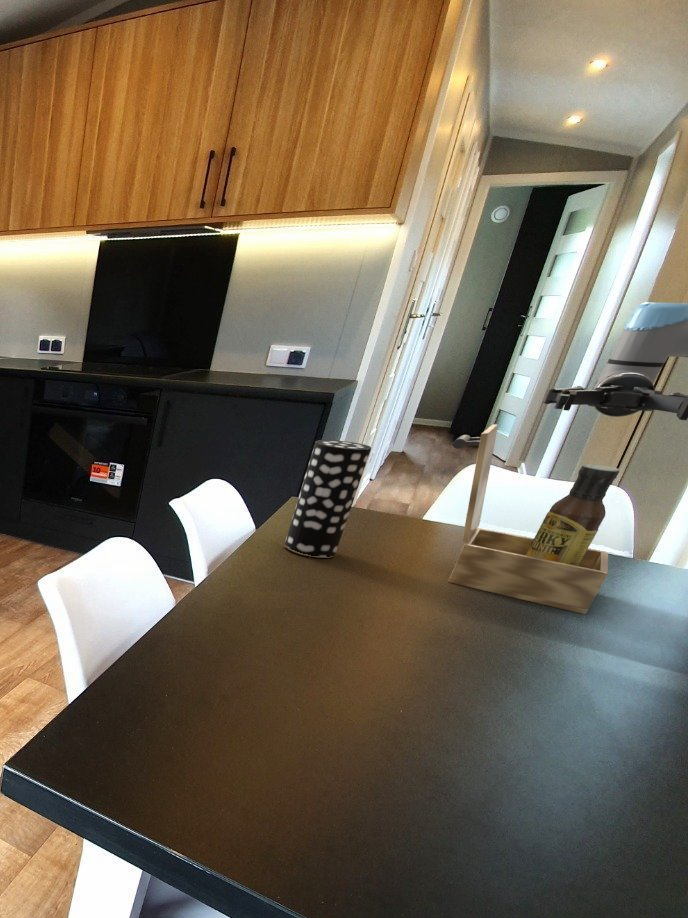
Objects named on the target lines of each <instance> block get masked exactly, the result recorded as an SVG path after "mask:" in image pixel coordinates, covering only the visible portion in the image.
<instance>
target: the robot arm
mask: <svg viewBox="0 0 688 918" xmlns="http://www.w3.org/2000/svg"><path fill="white" fill-rule="evenodd" d="M668 358H688V302H650V301H649V302H648V301H647V302H643V303H640V304H638V305H637V306H636V307H635V308H634V310H633V311H632V313H631V314H630V316H629V317H628V320H627V321H626V323H625V324H624V325H623V328H622V332H621V333H620V335H619V338H618V340H617V342H616V344H615V347H614V348H613V351H612V352H611V355H610V357H609V359H608V360H607V362H606V363H605V365H604V367H603V369H602V371H601V373H600V375H599V377H598V379H596V381H595V383H594V385H593V387H592V389H587V388H586V387H583V386H581V385H577V386H573V387H560V388H548V389H547V392H546V395H545V396H544V399H543V402H542V403H543V404H545V405H549V404H550V405H551V404H555V406H554V409H556V410H563V411H568V412H569V411H570V410H571V407H572V406H581V405H583V406H585V405H586V406H588V407H592V408H594V409H595V410H596V411H597V412H598V413H600V414H602V415H604V416H607V417H612V418H621V417H628V416H631V415H633V414H636V413H638V412H653V411H659V412H660V411H661V412H667V413H671V414H672V413H673V414H676V417H677V419H678V420H679V421H687V420H688V394H684V393H681V392H672V393H669V395H668V394H663V392H662V391H661V390H656V389H655V385H654V382H655V381H656V379H657V377H658V375H659V374H660V371H661V369H662V368H663V367H664V365H665V363H666V361H667V359H668Z"/></svg>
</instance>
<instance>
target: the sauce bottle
mask: <svg viewBox="0 0 688 918" xmlns="http://www.w3.org/2000/svg"><path fill="white" fill-rule="evenodd" d="M577 473H578V474H577V478H576V480H575V482H573V485H572V487H571V489H569V493H568V495H565V496H564V497H562V498H561V499H558V500H557V501H556V502H554V503H553V505H552V506H551V508H550V509H549V511H548V512H547V513H546V515H545V517H544V518H543V519H542V523H541V524H540V527H539V529H538V530H537V532H536V534H535V536H534V540H533V542H532V543H531V545H530V547H529V549H528V551H527V553H526V555H525V556H530V557H535V558H540V559H545V560H550V561H555V562H560V563H565V564H570V565H575V566H578V565H579V564H580V562H581V560H582V558H583V556H584V555H585V553H586V551H587V549H589V547H591V544H592V542H593V541H594V539H595V537H596V535H597V533H598V532H599V528H600V526H601V525H602V522H603V521H604V519H605V517H606V514H607V512H606V506H605V505H604V501H603V500H604V498H605V497H606V495H607V491H608V490H609V489H610V486H611V485H612V483H613V481H614V480H615V479H617V477H618V475H619V473H620V469H619V468H617V467H612V466H608V465H601V464H593V463H589V464H588V463H587V464H583V465H581V467H580V469H579V470H578V472H577Z"/></svg>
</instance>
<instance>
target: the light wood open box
mask: <svg viewBox="0 0 688 918" xmlns="http://www.w3.org/2000/svg"><path fill="white" fill-rule="evenodd" d="M534 538H535V537H534ZM534 538H533V537H529V536H523V535H518V534H512V533H507V532H502V531H496V530H490V529H486V528H482V527H481V528H480V527H478V528H477V529H476V531H475V532H474V534H473V535H472V537H471V538H470V540H469V541H468V542H465V543H463V546H462V548H461V551H460V553H459V555H458V557H457V560H456V562H455V565H454V567H453V569H452V572H451V574H450V576H449V578H448V580H447V582H448V583H451V584H454V585H458V586H462V587H468V588H472V589H476V590H480V591H485V592H487V593H488V592H489V593H492V594H498V595H501V596H506V597H510V598H515V599H519V600H523V601H526V602H531V603H535V604H540V605H544V606H548V607H552V608H557V609H560V610H565V611H570V612H574V613H578V614H582V615H586V614H587V613H588V610H589V609H590V608H591V606H592V604H593V602H594V600H595V598H596V596H597V594H598V593H599V591H600V589H601V587H602V585H603V583H604V581H605V580H606V578H607V576H608V574H609V552H608V551H604V550H598V549H592V548H588V549H587V551H586V553H585V555H584V556H583V558H582V560H581V562H580V564H579V565H578V566H575V565H570V564H565V563H560V562H555V561H550V560H545V559H540V558H535V557H530V556H525V555H526V553H527V551H528V549H529V547H530V545H531V543H532V542H533V540H534Z"/></svg>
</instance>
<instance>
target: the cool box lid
mask: <svg viewBox="0 0 688 918" xmlns="http://www.w3.org/2000/svg"><path fill="white" fill-rule="evenodd" d="M498 428H499V424H497V423H496V424H494V423H493V424H491V425H490V426H489V427H487V428H486V429H485V430H484V431H483V432H481V433H480V436H475V437H471V436H470V435H468V434H463V435H460V436H459V437H457V438H456V439H455V440H454V441H453V442H452V447H453V448H454V449H458V450H459V449H463V448H464V447H467V446H468V447H471V446H472V447H475V446H476V447H478V450H477V456H476V460H475V467H474V472H473V478H472V483H471V484H472V485H471V490H470V494H469V500H468V505H467V510H466V517H465V522H464V527H463V528H464V529H463V534H462V538H461V541H462V542H463V543H464V542H468V541H469V540H470V538H471V537H472V535H473V534H474V532H475V531H476V529H477V528H479V526H480V523H481V519H482V513H483V508H484V503H485V498H486V492H487V486H488V481H489V476H490V470H491V464H492V461H493V460H492V459H493V455H494V449H495V442H496V437H497V433H498Z"/></svg>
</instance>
